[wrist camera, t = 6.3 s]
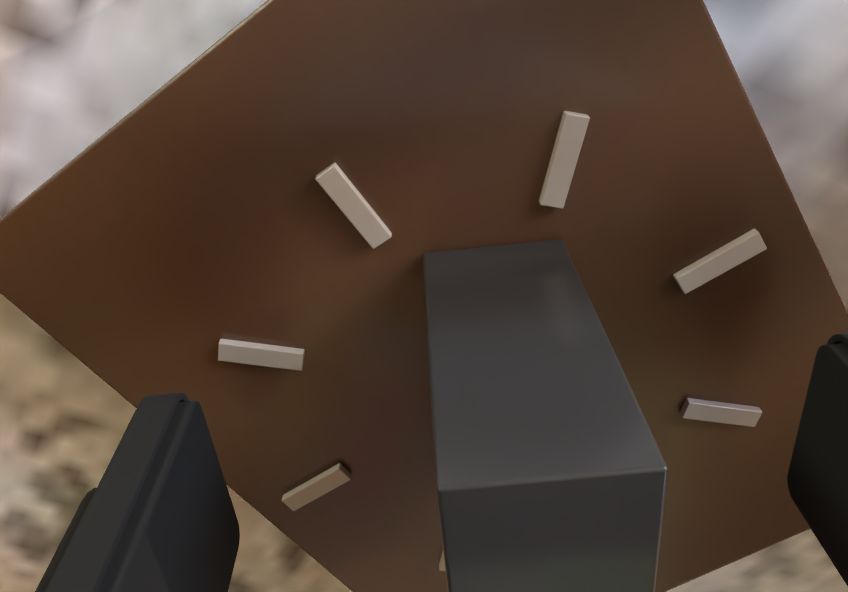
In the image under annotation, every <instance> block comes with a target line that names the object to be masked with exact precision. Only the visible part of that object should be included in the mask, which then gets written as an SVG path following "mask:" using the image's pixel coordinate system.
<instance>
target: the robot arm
mask: <svg viewBox="0 0 848 592" xmlns="http://www.w3.org/2000/svg"><path fill="white" fill-rule="evenodd" d="M787 485H788V489H789V493H790V496H791V498H792V500H793V501H794V503H795V505H796V506H797V508H798V509H799V511H800V512H801V514H802V515H803V517H804V519H805V520H806V522H807V523H808V525H809V526H810V528H811V530H812V531H813V533H814V534H815V536H816V537H817V539H818V541H819V542H820V544H821V545H822V547H823V548H824V550H825V551H826V553H827V555H828V556H829V558H830V559H831V561H832V562H833V564H834V566H835V567H836V569H837V570H838V572H839V573H840V575H841V577H842V578H843V580H844V581H845V583H846V584H847V586H848V333H843V334H836V335H833V336H832V337H831V338H830V339H829V340H828V343H827V345H822V346H820V348H819V349H818V351H817V353H816V357H815V361H814V365H813V369H812V374H811V378H810V382H809V386H808V390H807V395H806V399H805V403H804V407H803V411H802V416H801V420H800V424H799V428H798V432H797V437H796V441H795V445H794V449H793V453H792V458H791V462H790V466H789V470H788V475H787ZM239 538H240V534H239V524H238V520H237V517H236V514H235V511H234V508H233V504H232V501H231V498H230V495H229V492H228V489H227V486H226V482H225V479H224V476H223V473H222V470H221V467H220V463H219V460H218V457H217V454H216V451H215V448H214V445H213V441H212V438H211V435H210V432H209V429H208V426H207V422H206V419H205V416H204V413H203V410H202V407H201V405H200V403H199V402H198V401H189V399H188V397H187V396H186V395H185V394H184V393H171V394H160V395H149V396H145V397H143V398H142V400H141V401H140V403H139V405H138V407H137V409H136V411H135V413H134V415H133V417H132V419H131V421H130V423H129V425H128V427H127V429H126V431H125V433H124V435H123V437H122V439H121V441H120V443H119V445H118V447H117V449H116V451H115V453H114V455H113V457H112V459H111V461H110V463H109V465H108V467H107V469H106V471H105V473H104V475H103V477H102V479H101V481H100V483H99V485H98V487H97V488H94V489H92V490H91V491H89V492H88V493H87V494H86V496H85V497H84V499H83V500H82V502H81V504H80V506H79V508H78V510H77V511H76V513H75V515H74V517H73V519H72V521H71V523H70V525H69V527H68V529H67V531H66V533H65V535H64V537H63V539H62V541H61V543H60V545H59V546H58V548H57V550H56V552H55V554H54V556H53V558H52V560H51V562H50V564H49V566H48V568H47V570H46V572H45V574H44V576H43V578H42V580H41V582H40V583H39V585H38V587H37V589H36V591H35V592H228V589H229V584H230V580H231V576H232V572H233V568H234V564H235V560H236V556H237V551H238V547H239Z"/></svg>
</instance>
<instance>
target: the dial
mask: <svg viewBox="0 0 848 592" xmlns="http://www.w3.org/2000/svg"><path fill="white" fill-rule="evenodd" d="M422 261H423V278H424V295H425V313H426V330H427V347H428V365H429V382H430V399H431V416H432V434H433V451H434V468H435V485H436V496H437V504H438V512H439V521H440V529H441V538H442V546H443V554H444V563H445V571H446V580H447V588H448V592H655V585H656V576H657V567H658V557H659V548H660V539H661V529H662V520H663V511H664V501H665V492H666V483H667V473H668V467H667V465H666V463H665V460H664V458H663V456H662V454H661V452H660V450H659V447H658V445H657V443H656V441H655V439H654V437H653V434H652V432H651V430H650V428H649V426H648V424H647V421H646V419H645V417H644V415H643V413H642V410H641V408H640V406H639V404H638V402H637V400H636V397H635V395H634V393H633V391H632V389H631V387H630V384H629V382H628V380H627V378H626V376H625V374H624V371H623V369H622V367H621V365H620V363H619V361H618V358H617V356H616V354H615V352H614V350H613V348H612V345H611V343H610V341H609V339H608V337H607V335H606V332H605V330H604V328H603V326H602V324H601V322H600V319H599V317H598V315H597V313H596V311H595V309H594V306H593V304H592V302H591V300H590V298H589V296H588V293H587V291H586V289H585V287H584V285H583V283H582V280H581V278H580V276H579V274H578V272H577V270H576V267H575V265H574V263H573V261H572V259H571V257H570V254H569V252H568V250H567V248H566V246H565V244H564V241H563V240H550V241H540V242H529V243H519V244H509V245H499V246H488V247H478V248H468V249H458V250H448V251H437V252H427V253H423V256H422Z"/></svg>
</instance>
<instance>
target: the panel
mask: <svg viewBox="0 0 848 592" xmlns="http://www.w3.org/2000/svg"><path fill="white" fill-rule="evenodd" d="M550 240H563V241H564V244H565V246H566V248H567V250H568V252H569V254H570V257H571V259H572V261H573V263H574V265H575V267H576V270H577V272H578V274H579V276H580V278H581V280H582V283H583V285H584V287H585V289H586V291H587V293H588V296H589V298H590V300H591V302H592V304H593V306H594V309H595V311H596V313H597V315H598V317H599V319H600V322H601V324H602V326H603V328H604V330H605V332H606V335H607V337H608V339H609V341H610V343H611V345H612V348H613V350H614V352H615V354H616V356H617V358H618V361H619V363H620V365H621V367H622V369H623V371H624V374H625V376H626V378H627V380H628V382H629V384H630V387H631V389H632V391H633V393H634V395H635V397H636V400H637V402H638V404H639V406H640V408H641V410H642V413H643V415H644V417H645V419H646V421H647V424H648V426H649V428H650V430H651V432H652V434H653V437H654V439H655V441H656V443H657V445H658V447H659V450H660V452H661V454H662V456H663V458H664V460H665V463H666V465H667V467H668V473H667V483H666V492H665V501H664V511H663V520H662V529H661V539H660V548H659V557H658V567H657V576H656V585H655V592H666V591H668V590H670V589H673V588H675V587H677V586H679V585H682V584H684V583H686V582H689V581H691V580H693V579H696V578H698V577H700V576H702V575H705V574H707V573H709V572H712V571H714V570H716V569H719V568H721V567H723V566H725V565H728V564H730V563H732V562H735V561H737V560H739V559H742V558H744V557H746V556H748V555H751V554H753V553H755V552H758V551H760V550H762V549H765V548H767V547H769V546H771V545H774V544H776V543H778V542H781V541H783V540H785V539H788V538H790V537H792V536H794V535H797V534H799V533H801V532H804V531H806V530H808V529H811V528H810V526H809V525H808V523H807V522H806V520H805V519H804V517H803V515H802V514H801V512H800V511H799V509H798V508H797V506H796V505H795V503H794V501H793V500H792V498H791V496H790V493H789V489H788V485H787V475H788V470H789V466H790V462H791V458H792V453H793V449H794V445H795V441H796V437H797V432H798V428H799V424H800V420H801V416H802V411H803V407H804V403H805V399H806V395H807V390H808V386H809V382H810V378H811V374H812V369H813V365H814V361H815V357H816V353H817V351H818V349H819V348H820V346H822V345H827V343H828V340H829V339H830V338H831V337H832V336H833V335H836V334H843V333H848V314H847V312H846V309H845V307H844V305H843V303H842V301H841V298H840V296H839V294H838V292H837V290H836V288H835V285H834V283H833V281H832V279H831V277H830V275H829V272H828V270H827V268H826V266H825V264H824V262H823V259H822V257H821V255H820V253H819V251H818V249H817V246H816V244H815V242H814V240H813V238H812V236H811V233H810V231H809V229H808V227H807V225H806V223H805V220H804V218H803V216H802V214H801V212H800V210H799V207H798V205H797V203H796V201H795V199H794V197H793V194H792V192H791V190H790V188H789V186H788V184H787V181H786V179H785V177H784V175H783V173H782V171H781V168H780V166H779V164H778V162H777V160H776V158H775V155H774V153H773V151H772V149H771V147H770V144H769V142H768V140H767V138H766V136H765V134H764V131H763V129H762V127H761V125H760V123H759V121H758V118H757V116H756V114H755V112H754V110H753V108H752V105H751V103H750V101H749V99H748V97H747V95H746V92H745V90H744V88H743V86H742V84H741V82H740V79H739V77H738V75H737V73H736V71H735V69H734V66H733V64H732V62H731V60H730V58H729V56H728V53H727V51H726V49H725V47H724V45H723V43H722V40H721V38H720V36H719V34H718V32H717V30H716V27H715V25H714V23H713V21H712V19H711V17H710V14H709V12H708V10H707V8H706V6H705V4H704V1H703V0H267V1H266V2H265V3H264V4H263V5H261V6H260V7H259V8H258V9H256V10H255V11H254V12H253V13H251V14H250V15H249V16H248V17H247V18H245V19H244V20H243V21H242V22H240V23H239V24H238V25H237V26H236V27H234V28H233V29H232V30H231V31H229V32H228V33H227V34H226V35H225V36H223V37H222V38H221V39H220V40H218V41H217V42H216V43H215V44H214V45H212V46H211V47H210V48H209V49H207V50H206V51H205V52H204V53H203V54H201V55H200V56H199V57H198V58H196V59H195V60H194V61H193V62H192V63H190V64H189V65H188V66H187V67H185V68H184V69H183V70H182V71H181V72H179V73H178V74H177V75H176V76H174V77H173V78H172V79H171V80H170V81H168V82H167V83H166V84H165V85H163V86H162V87H161V88H160V89H158V90H157V91H156V92H155V93H154V94H152V95H151V96H150V97H149V98H147V99H146V100H145V101H144V102H143V103H141V104H140V105H139V106H138V107H136V108H135V109H134V110H133V111H132V112H130V113H129V114H128V115H127V116H125V117H124V118H123V119H122V120H121V121H119V122H118V123H117V124H116V125H114V126H113V127H112V128H111V129H110V130H108V131H107V132H106V133H105V134H103V135H102V136H101V137H100V138H99V139H97V140H96V141H95V142H94V143H92V144H91V145H90V146H89V147H88V148H86V149H85V150H84V151H83V152H81V153H80V154H79V155H78V156H77V157H75V158H74V159H73V160H72V161H70V162H69V163H68V164H67V165H65V166H64V167H63V168H62V169H61V170H59V171H58V172H57V173H56V174H54V175H53V176H52V177H51V178H50V179H48V180H47V181H46V182H45V183H43V184H42V185H41V186H40V187H39V188H37V189H36V190H35V191H34V192H32V193H31V194H30V195H29V196H28V197H26V198H25V199H24V200H23V201H22V202H20V203H19V204H18V205H17V206H15V207H14V208H13V209H12V210H11V211H9V212H8V213H7V214H6V215H5V216H3V217H2V218H1V219H0V293H1V294H2V295H4V296H5V297H6V298H7V299H8V300H9V301H11V302H12V303H13V304H14V305H15V306H17V307H18V308H19V309H20V310H21V311H22V312H24V313H25V314H26V315H27V316H28V317H30V318H31V319H32V320H33V321H34V322H35V323H37V324H38V325H39V326H40V327H41V328H43V329H44V330H45V331H46V332H47V333H48V334H50V335H51V336H52V337H53V338H54V339H55V340H57V341H58V342H59V343H60V344H61V345H63V346H64V347H65V348H66V349H67V350H68V351H70V352H71V353H72V354H73V355H74V356H76V357H77V358H78V359H79V360H80V361H81V362H83V363H84V364H85V365H86V366H87V367H89V368H90V369H91V370H92V371H93V372H94V373H96V374H97V375H98V376H99V377H100V378H101V379H103V380H104V381H105V382H106V383H107V384H109V385H110V386H111V387H112V388H113V389H114V390H116V391H117V392H118V393H119V394H120V395H122V396H123V397H124V398H125V399H126V400H127V401H129V402H130V403H131V404H132V405H133V406H135V407H136V408H137V407H138V405H139V403H140V401H141V400H142V398H143V397H145V396H149V395H160V394H171V393H184V394H185V395H186V396H187V397H188V399H189V401H198V402H199V403H200V405H201V407H202V410H203V413H204V416H205V419H206V422H207V426H208V429H209V432H210V435H211V438H212V441H213V445H214V448H215V451H216V454H217V457H218V460H219V463H220V467H221V470H222V473H223V476H224V479H225V482H226V484H227V485H228V486H229V487H230V488H231V489H232V490H234V491H235V492H236V493H237V494H238V495H240V496H241V497H242V498H243V499H244V500H245V501H247V502H248V503H249V504H250V505H251V506H252V507H254V508H255V509H256V510H257V511H258V512H260V513H261V514H262V515H263V516H264V517H265V518H267V519H268V520H269V521H270V522H271V523H273V524H274V525H275V526H276V527H277V528H278V529H280V530H281V531H282V532H283V533H284V534H286V535H287V536H288V537H289V538H290V539H291V540H293V541H294V542H295V543H296V544H297V545H298V546H300V547H301V548H302V549H303V550H304V551H306V552H307V553H308V554H309V555H310V556H311V557H313V558H314V559H315V560H316V561H317V562H319V563H320V564H321V565H322V566H323V567H324V568H326V569H327V570H328V571H329V572H330V573H332V574H333V575H334V576H335V577H336V578H337V579H339V580H340V581H341V582H342V583H343V584H344V585H346V586H347V587H348V588H349V589H350V590H352V591H353V592H448V588H447V580H446V571H445V563H444V554H443V546H442V538H441V529H440V521H439V512H438V504H437V496H436V485H435V468H434V451H433V434H432V416H431V399H430V382H429V365H428V347H427V330H426V313H425V295H424V278H423V261H422V256H423V253H427V252H437V251H448V250H458V249H468V248H478V247H488V246H499V245H509V244H519V243H529V242H540V241H550Z"/></svg>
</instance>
